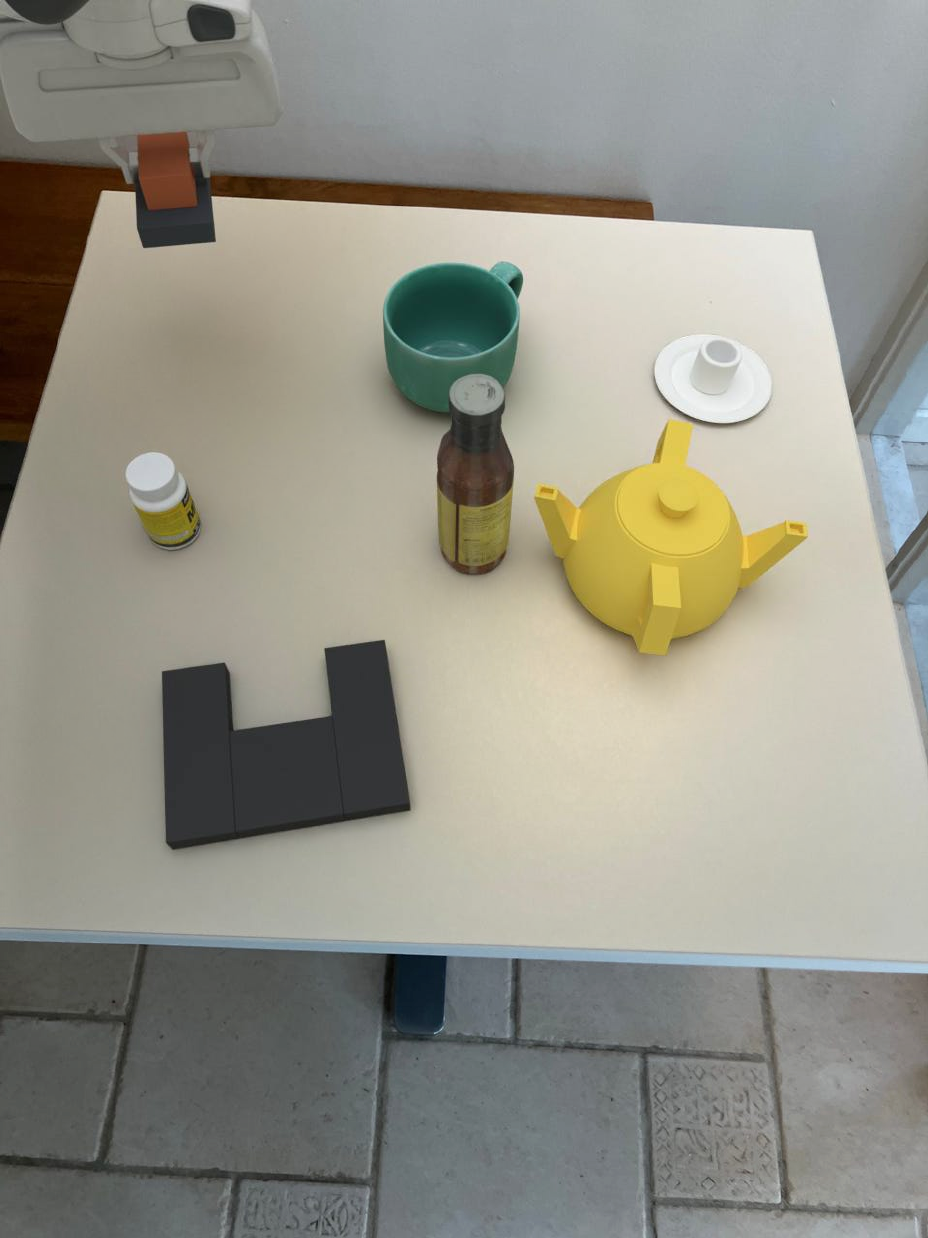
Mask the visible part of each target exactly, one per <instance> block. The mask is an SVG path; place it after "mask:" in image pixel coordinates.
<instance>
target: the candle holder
mask: <svg viewBox="0 0 928 1238" xmlns="http://www.w3.org/2000/svg"><path fill="white" fill-rule="evenodd" d="M653 372H654V374H653V375H654V380H655V383H656V385H657V388H658V390H659V391H660V393H661V394H662V396H663V398H665V400H666V401H667V402H669V404H671V406H673V407H674V408H675V409H677V410H679V411H680V412H681V413H683V414H685V415H687V416H688V417H691V418H694V419H697V420H700V421H703V422H708V423H714V424H715V423H716V424H731V423H732V424H733V423H739V422H741V421H745V420H747V419H750V418H752V417H754V416H756V415H757V414H758V413H760V412H761V411H762V410H763V409H764V408H765V407H766V406H767V404H768V402H769V401H770V398H771V396H772V391H773V380H772V375H771V372H770V369H769V366H768V365H767V364H766V362H764V360H763V359H762V357H760V356H759V354H758V353H757V352H756V351H754V350H752V349H751V348H750V347H748V346H746V345H745V344H743V343H741V342H739V341H737V340H734V339H732V338H729V337H726V336H723V335H718V334H709V333H696V334H690V335H686V336H682V337H679V338H677V339H675V340H673V341H671V342H670V343H668V344H667V345H666V346H665V347H663V348H662V350H661V351H660V352H659V354H658V355H657V357H656V360H655V362H654V370H653Z"/></svg>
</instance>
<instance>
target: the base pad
mask: <svg viewBox="0 0 928 1238" xmlns="http://www.w3.org/2000/svg"><path fill="white" fill-rule="evenodd" d="M323 652H324V658H325V665H326V666H325V667H326V674H327V675H326V676H327V683H328V691H329V699H330V700H329V701H330V709H331V715H328V716H320V717H315V718H308V719H302V720H295V721H287V722H281V723H276V724H268V725H261V726H256V727H248V728H243V729H241V728H240V729H235V730H234V724H233V723H234V722H233V719H234V718H233V706H232V704H233V703H232V689H231V672H230V671H229V668H228V666H227V664H226V662H217V663H211V664H210V663H209V664H203V665H196V666H189V667H182V668H175V669H167V670H162V671H161V691H162V692H161V693H162V695H161V696H162V731H163V732H162V735H163V774H164V775H163V776H164V777H163V778H164V779H163V780H164V781H163V782H164V784H163V785H164V817H165V818H164V820H165V821H164V823H165V825H164V826H165V843H166V845H167V846H168V847H169V848H171V849H172V850H179V849H186V848H191V847H198V846H203V845H209V844H215V843H221V842H227V841H233V840H234V841H235V840H239V839H244V838H245V839H246V838H252V837H257V836H263V835H269V834H275V833H281V832H282V833H283V832H287V831H294V830H300V829H307V828H312V827H318V826H324V825H329V824H331V825H332V824H337V823H340V822H341V823H343V822H349V821H353V820H361V819H367V818H373V817H380V816H384V815H391V814H397V813H403V812H408V811H411V799H410V793H409V787H408V786H409V785H408V780H407V773H406V768H405V760H404V754H403V747H402V740H401V735H400V728H399V722H398V715H397V709H396V702H395V696H394V690H393V689H394V688H393V683H392V677H391V670H390V664H389V657H388V649H387V644H386V639H379V640H373V641H366V642H359V643H352V644H351V643H350V644H345V645H337V646H330V647H324V651H323Z"/></svg>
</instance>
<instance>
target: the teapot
mask: <svg viewBox="0 0 928 1238" xmlns="http://www.w3.org/2000/svg"><path fill="white" fill-rule="evenodd" d="M693 427H694V423H690V422H685V421H680V420H676V419H672V418H668V420H667V422H666V424H665V426H664V428H663V430H662V431H661V433H660V434H661V435H660V436H659V438H658V440H657V442H656V443H657V444H656V448H655V450H654V451H655V452H654V455H653V459H652V463H647V464H643V465H639V466H637V467H633V468H630V469H628V470H625V471H622V472H620V473H618V474H616V475H614V476H612V477H610V478H608V479H607V480H606V481H604V482H602V483H601V484H600V485H599V486H597V487H596V488H595V489H594V490H593V491H592V492H590V493H589V495H587V497H586V498H585V499H584V501H583V502H582V503H581V504H580V505H579V507H577V506H576V505H575V504H574V503H572V501H571V500H570V499H569V498H568V497H566V495H564V494H563V492H561V490H559V487H557V486H553V485H548V484H543V483H537V485H536V489H535V493H534V502H535V504H536V508H537V509H538V512H539V515H540V517H541V520H542V523H543V525H544V529H545V530H546V533H547V537H548V539H549V541H550V545H551V547H552V549H553V552H554V555H555V557H558V558H560V559H562V564H563V569H564V573H565V576H566V579H567V581H568V584H569V586H570V588H571V590H572V591H573V593H574V595H575V597H576V598H577V600H578V601H579V602H580V603H581V605H582V606H583V607H584V608H585V609H586V610H587V611H588V612H589V613H590V614H591V615H593V616H594V617H595V618H596V619H597V620H599V621H600V622H602V623H603V624H605V625H606V626H608V627H610V628H612V629H613V630H616V631H618V632H621V633H624V634H625V635H629V636H632V638H633V640H634V643H635V646H636V648H637V650H638V653H639V654H647V655H648V654H649V655H655V656H656V655H657V656H667V653H668V650H669V646H670V643H671V640H673V639H679V638H684V637H687V636H690V635H693V634H695V633H698V632H700V631H703V630H704V629H706V628H708V627H709V626H711V625H713V624H714V623H715V622H716V621H718V620H719V619H720V618H721V617H722V616H723V615H724V614H725V613H726V611H727V610H728V608H729V607H730V605H731V604H732V602H733V600H734V599H735V596H736V595H737V592H738V590H739V589H747V588H748V587H749V586H750V585H752V584H754V582H756V581H757V580H758V579H759V578H761V577H762V576H763V575H764V574H765V573H767V572H768V571H769V570H770V569H771V568H773V567H774V566H775V565H776V564H777V563H780V561H781V560H783V558H785V557H786V556H788V555H789V554H790V553H791V552H792V551H793V550H794V549H796V548H797V547H798V546H799V545H800V544H802V543H803V542H804V541H805V540H807V538H808V536H809V535H808V525H807V522H803V521H794V520H788V519H785V520H784V521H783V522H780V523H778V524H776V525H773V526H770V527H767V528H765V529H762V530H759V531H756V532H754V533H750V534H748V535H743V534H742V529H741V526H740V523H739V520H738V517H737V515H736V513H735V510H734V508H733V506H732V505H731V503H730V501H729V499H728V497H727V495H725V493H724V491H722V490H721V488H720V487H719V486H718V485H717V484H716V483H715V482H714V481H713V480H712V479H711V478H710V477H708V476H707V475H705V474H704V473H702V472H700V471H699V470H696V469H694V468H692V467H690V466H687V461H688V456H689V455H688V454H689V449H690V443H691V438H692V433H693Z"/></svg>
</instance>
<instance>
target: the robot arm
mask: <svg viewBox="0 0 928 1238" xmlns="http://www.w3.org/2000/svg"><path fill="white" fill-rule="evenodd" d="M277 73H278V72H277V68H276V65H275V60H274V56H273V53H272V47H271V45H270V41H269V38H268V35H267V33H266V29H265V27H264V24H263V22H262V20H261V19H260V17H259V15H258V14H257V13H256V11H255V10H254V9H253V8H252V0H0V80H1V85H2V89H3V92H4V93H3V94H4V97H5V100H6V101H5V102H6V104H7V107H8V111H9V114H10V116H11V120H12V122H13V125H14V127H15V130H16V131H17V132H18V133H19V134H20V135H22V136H23V137H24V138H25V139H27V140H28V141H29V142H31V143H49V142H50V143H51V142H62V141H63V142H65V141H77V140H78V141H79V140H92V139H97V141H98V145H99V147H100V150H101V151H102V152H103V153H104V154H105V155H106V156H108V158H110V159H111V161H113V163H116V165H117V166H118V167H121V171H122V174H123V177H124V179H125V180H124V181H125V183H126V184H127V185H132V184H134V185H135V183H140V181H139V171H138V151H128V149H127V148H126V147H125V146H124V145H123V144H122V143H121V141H119V138H120V137H134V136H136V137H137V135H151V134H165V133H179V132H187V133H191V132H196V136H197V140H198V143H197V146H194V147H195V148H192V147H190V148H188V153H189V163H190V167H191V170H192V175H193V178H194V179H195V178H209V177H210V178H211V169H210V162H209V159H210V156H211V154H212V151H213V150H214V147H215V144H216V143H217V136H216V135H217V134H216V131H219V130H232V129H233V130H235V129H247V128H260V127H262V128H265V127H273V126H275V125H277V123H278V122H279V120H280V119H281V117H282V115H283V113H284V109H283V101H282V95H281V89H280V83H279V78H278V74H277Z"/></svg>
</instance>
